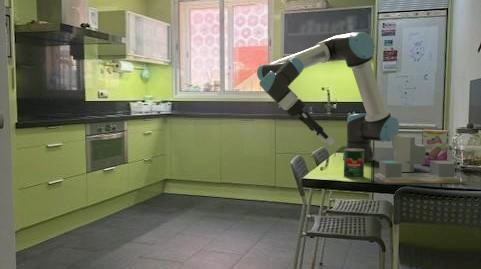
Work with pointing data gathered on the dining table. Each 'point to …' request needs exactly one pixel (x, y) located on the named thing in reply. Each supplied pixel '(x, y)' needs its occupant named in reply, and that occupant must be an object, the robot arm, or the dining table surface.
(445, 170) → the module
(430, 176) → the tan flat panel
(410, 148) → the circuit breaker
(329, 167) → the dining table surface
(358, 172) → the canned tomato
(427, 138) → the candy bar box
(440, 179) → the board
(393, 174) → the block
